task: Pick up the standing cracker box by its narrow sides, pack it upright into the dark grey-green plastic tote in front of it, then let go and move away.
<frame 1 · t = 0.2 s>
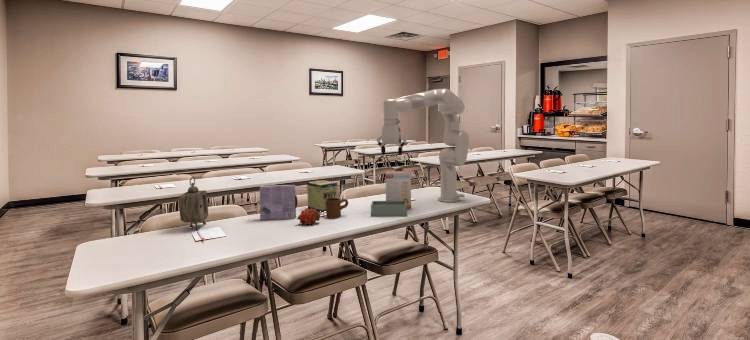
hand: (391, 154, 234), 31 cm above the table, tool pointing down, fingers open, 9 cm apart
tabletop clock: (195, 228, 212), on the table
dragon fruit: (309, 224, 215), on the table
protein box: (322, 209, 246), on the table
mug: (337, 216, 229), on the table
cracker box: (398, 208, 244), on the table
tote: (389, 213, 232), on the table
cake pan box: (279, 219, 227), on the table
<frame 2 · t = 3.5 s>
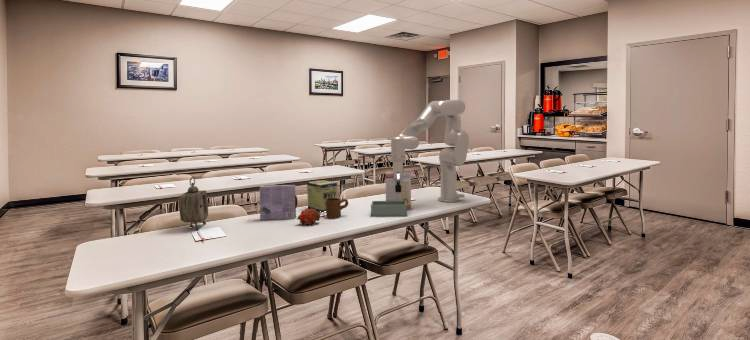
hand: (398, 190, 243), 10 cm above the table, tool pointing down, fingers closed on cracker box, 6 cm apart
cracker box: (398, 208, 244), on the table, touching gripper
everything else where it was.
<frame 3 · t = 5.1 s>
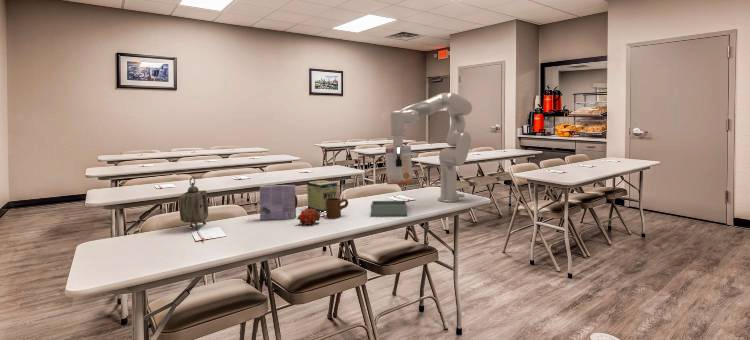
hand: (398, 165, 241), 24 cm above the table, tool pointing down, fingers closed on cracker box, 6 cm apart
cracker box: (399, 183, 243), point 14 cm above the table, touching gripper
everything else where it was.
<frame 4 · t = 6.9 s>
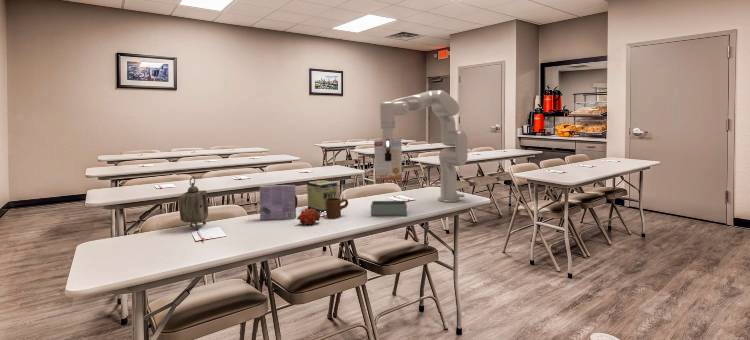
hand: (388, 159, 228), 29 cm above the table, tool pointing down, fingers closed on cracker box, 6 cm apart
cracker box: (388, 179, 229), point 19 cm above the table, touching gripper
everything else where it was.
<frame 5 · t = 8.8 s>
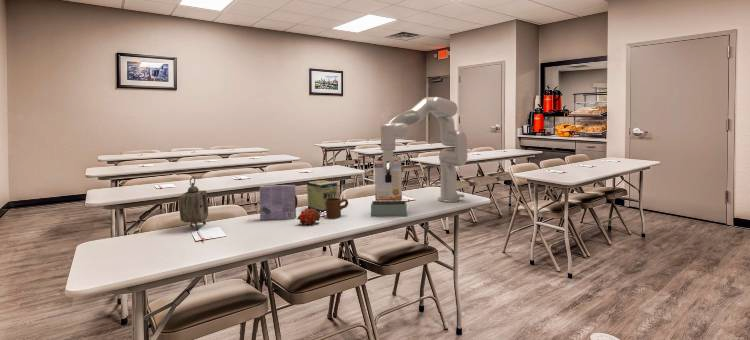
hand: (388, 181, 229), 18 cm above the table, tool pointing down, fingers closed on cracker box, 6 cm apart
cracker box: (388, 200, 231), point 7 cm above the table, touching gripper
everything else where it was.
when the fingers open (12 cm above the table, at t = 10.5 s): cracker box stays where it is, resting on tote.
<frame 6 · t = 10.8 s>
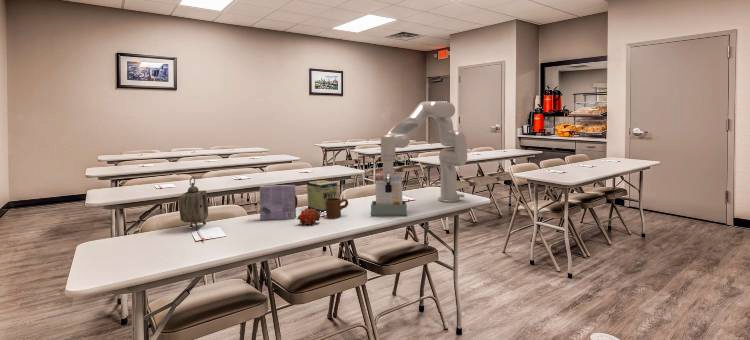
hand: (388, 190, 230), 13 cm above the table, tool pointing down, fingers open, 9 cm apart
cracker box: (389, 212, 232), point 1 cm above the table, touching tote
everything else where it was.
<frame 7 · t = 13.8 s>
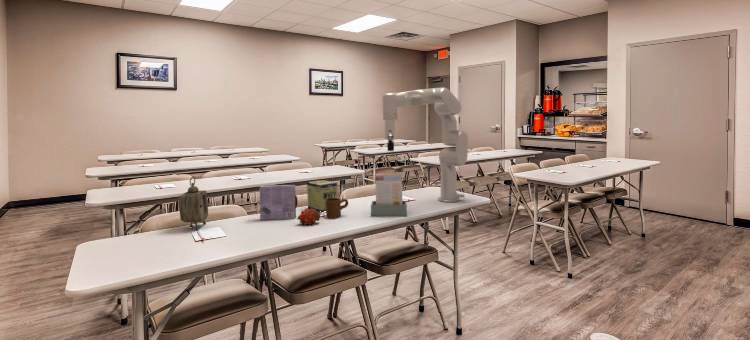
hand: (390, 149, 229), 34 cm above the table, tool pointing down, fingers open, 9 cm apart
nothing on the table moved.
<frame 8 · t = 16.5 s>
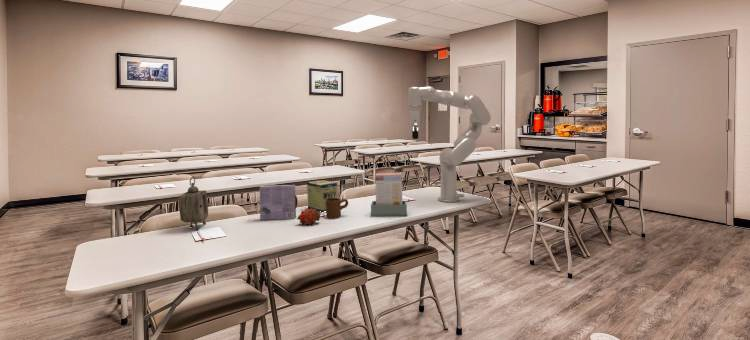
hand: (415, 138, 253), 38 cm above the table, tool pointing down, fingers open, 9 cm apart
nothing on the table moved.
at the end: cracker box 0.1 cm off-centre on the tote, point 0.8 cm above the tote's base; cracker box tilted 0°; the gripper is holding nothing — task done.
